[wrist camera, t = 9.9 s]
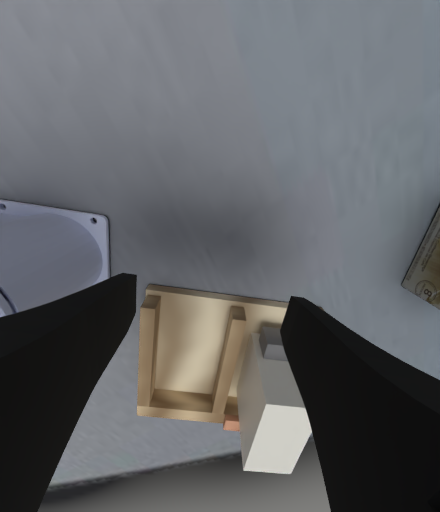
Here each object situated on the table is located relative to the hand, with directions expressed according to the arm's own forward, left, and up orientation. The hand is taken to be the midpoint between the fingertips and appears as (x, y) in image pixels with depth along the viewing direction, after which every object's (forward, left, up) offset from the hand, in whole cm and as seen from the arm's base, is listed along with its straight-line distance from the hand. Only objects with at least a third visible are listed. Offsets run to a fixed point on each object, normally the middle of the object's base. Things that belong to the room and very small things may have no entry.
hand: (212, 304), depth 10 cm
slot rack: (+3, -12, -9) cm, 16 cm away
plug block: (+7, -12, -8) cm, 16 cm away
